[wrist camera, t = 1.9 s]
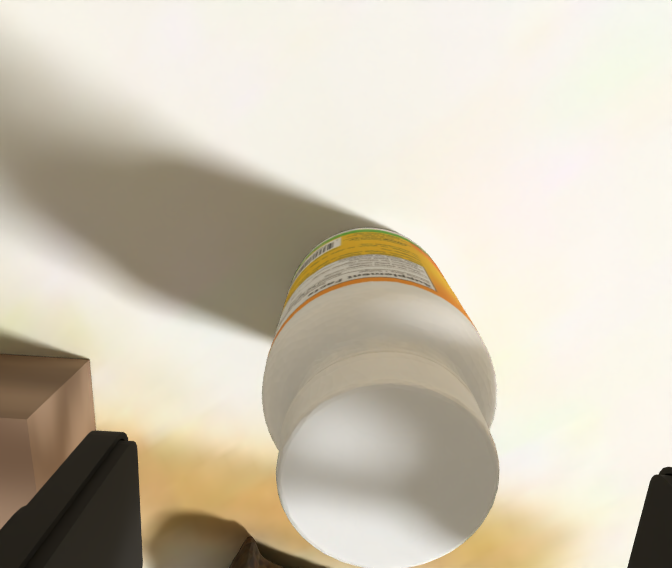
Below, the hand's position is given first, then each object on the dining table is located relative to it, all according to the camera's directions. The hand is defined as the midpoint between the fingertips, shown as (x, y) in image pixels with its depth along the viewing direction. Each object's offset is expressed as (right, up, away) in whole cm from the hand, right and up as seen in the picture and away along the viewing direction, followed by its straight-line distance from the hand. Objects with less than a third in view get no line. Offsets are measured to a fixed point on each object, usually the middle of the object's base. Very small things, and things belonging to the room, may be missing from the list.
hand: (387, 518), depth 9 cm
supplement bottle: (0, +4, +9) cm, 10 cm away
